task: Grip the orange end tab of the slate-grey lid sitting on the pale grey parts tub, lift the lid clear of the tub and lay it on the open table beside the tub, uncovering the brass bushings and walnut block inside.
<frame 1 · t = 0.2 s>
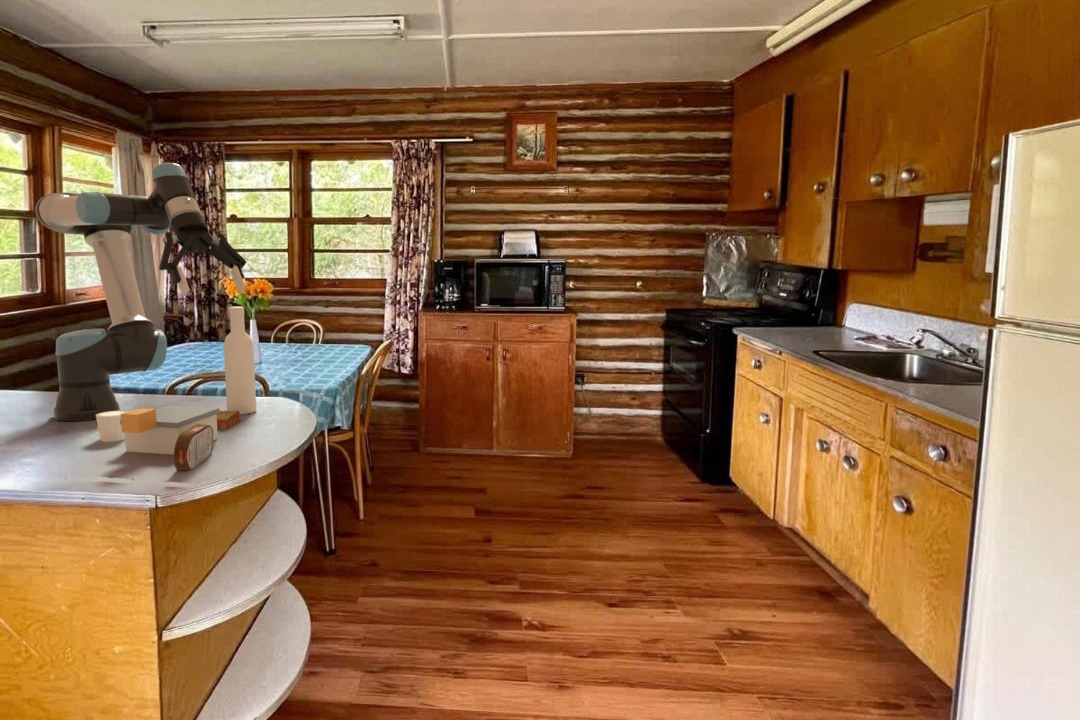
hand: (215, 292, 165), 36 cm above the countertop, tool tilted 35°, fingers open, 13 cm apart
tub: (173, 448, 159), on the countertop
cream cylindrical piece: (114, 442, 164), on the countertop
tin: (196, 466, 147), on the countertop
carton: (203, 430, 178), on the countertop
lid: (171, 418, 158), point 7 cm above the countertop, touching tub
walnut block: (151, 448, 156), point 1 cm above the countertop, touching tub
bottle: (241, 412, 196), on the countertop
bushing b: (176, 449, 156), point 1 cm above the countertop, touching tub
bushing a: (170, 440, 163), point 1 cm above the countertop, touching tub
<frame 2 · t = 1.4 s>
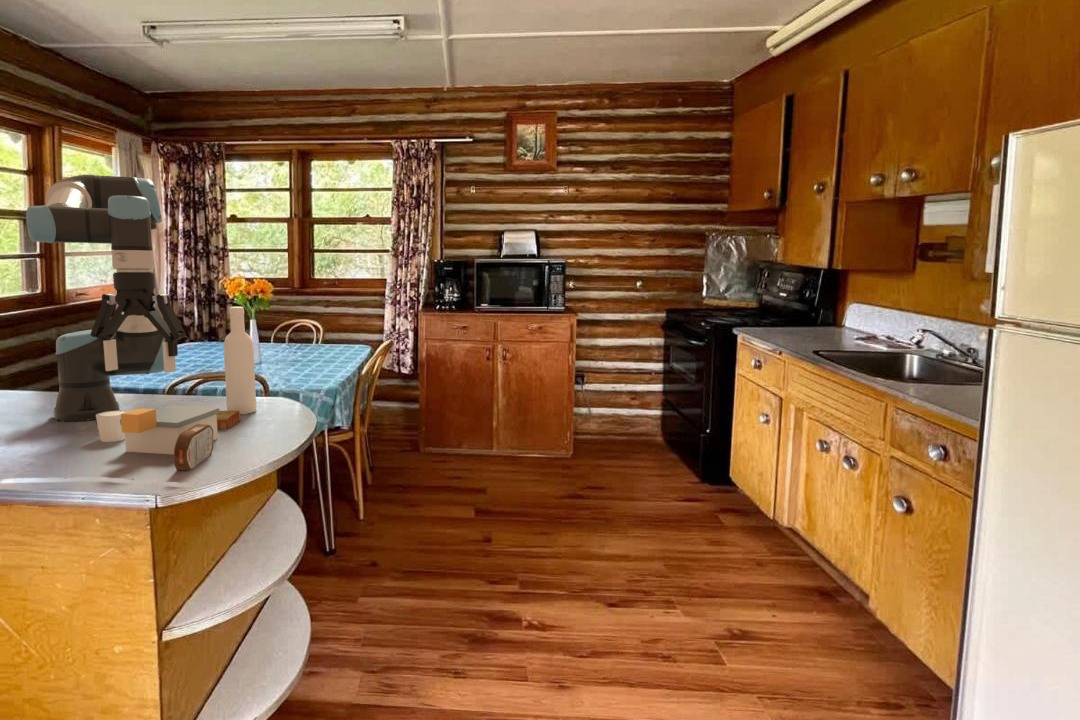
hand: (140, 371, 147), 20 cm above the countertop, tool pointing down, fingers open, 13 cm apart
nothing on the countertop moved.
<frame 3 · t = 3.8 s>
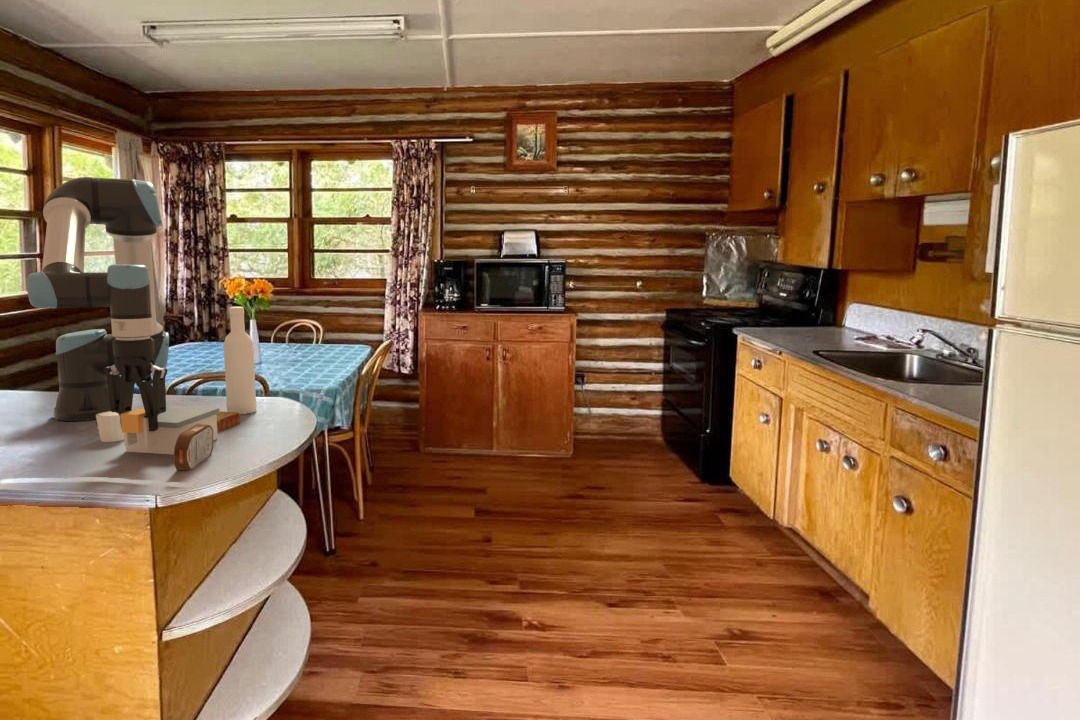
hand: (140, 444, 149), 4 cm above the countertop, tool pointing down, fingers closed on lid, 4 cm apart
lid: (171, 418, 158), point 7 cm above the countertop, touching gripper
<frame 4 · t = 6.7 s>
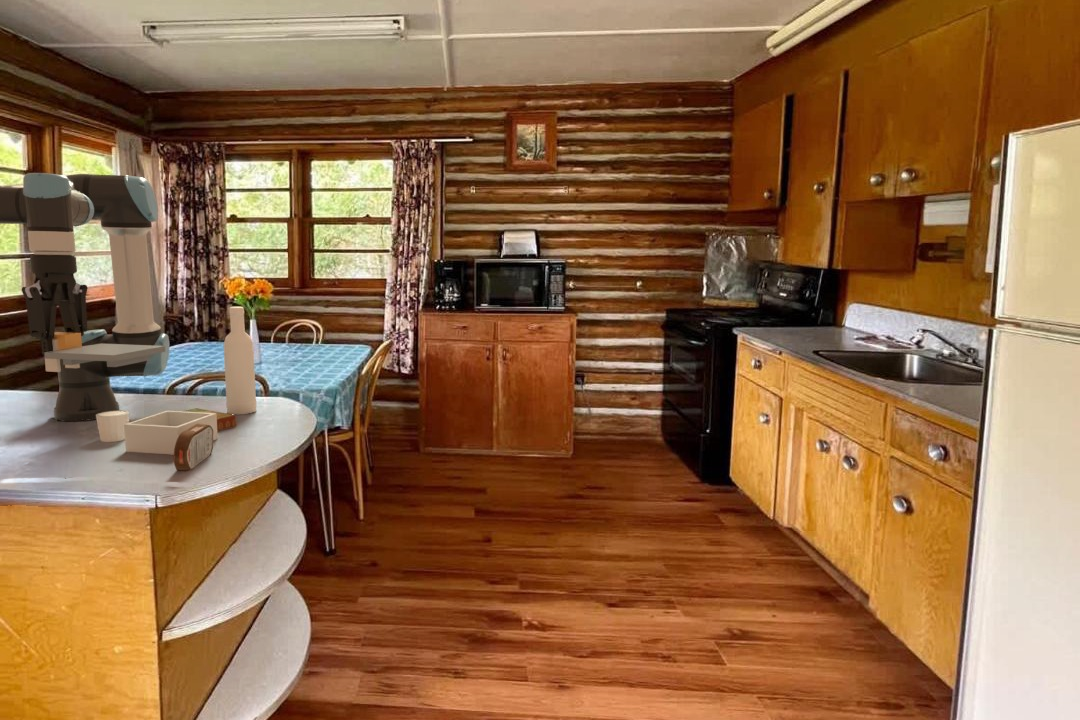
hand: (63, 369, 140), 21 cm above the countertop, tool pointing down, fingers closed on lid, 4 cm apart
lid: (107, 354, 138), point 24 cm above the countertop, touching gripper
when the fingers open (1 cm above the countertop, at t = 9.8 s): lid drops 3 cm, point 1 cm above the countertop.
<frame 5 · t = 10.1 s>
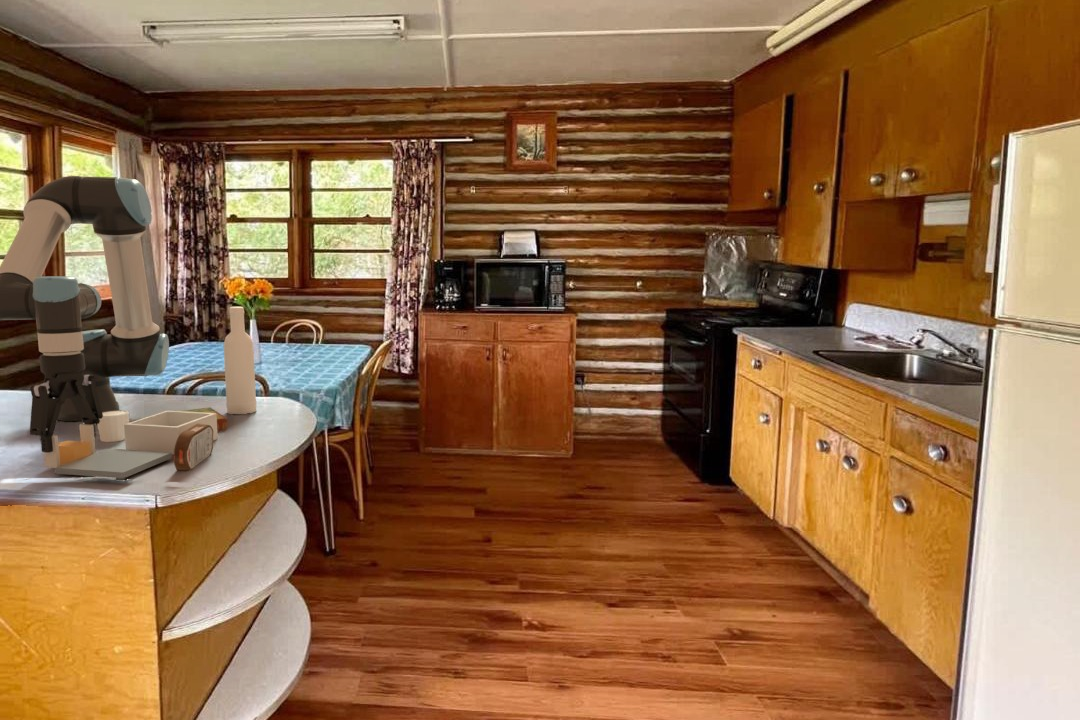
hand: (71, 460, 143), 2 cm above the countertop, tool pointing down, fingers open, 8 cm apart
lid: (116, 465, 141), point 1 cm above the countertop
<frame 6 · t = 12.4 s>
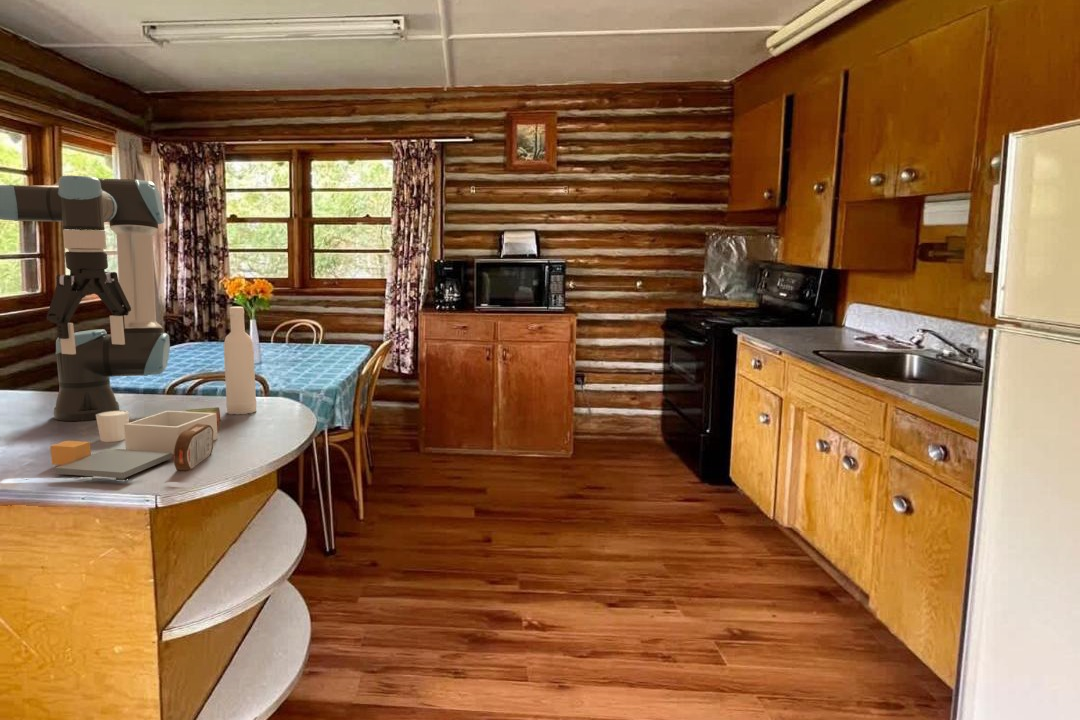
hand: (94, 349, 150), 24 cm above the countertop, tool pointing down, fingers open, 13 cm apart
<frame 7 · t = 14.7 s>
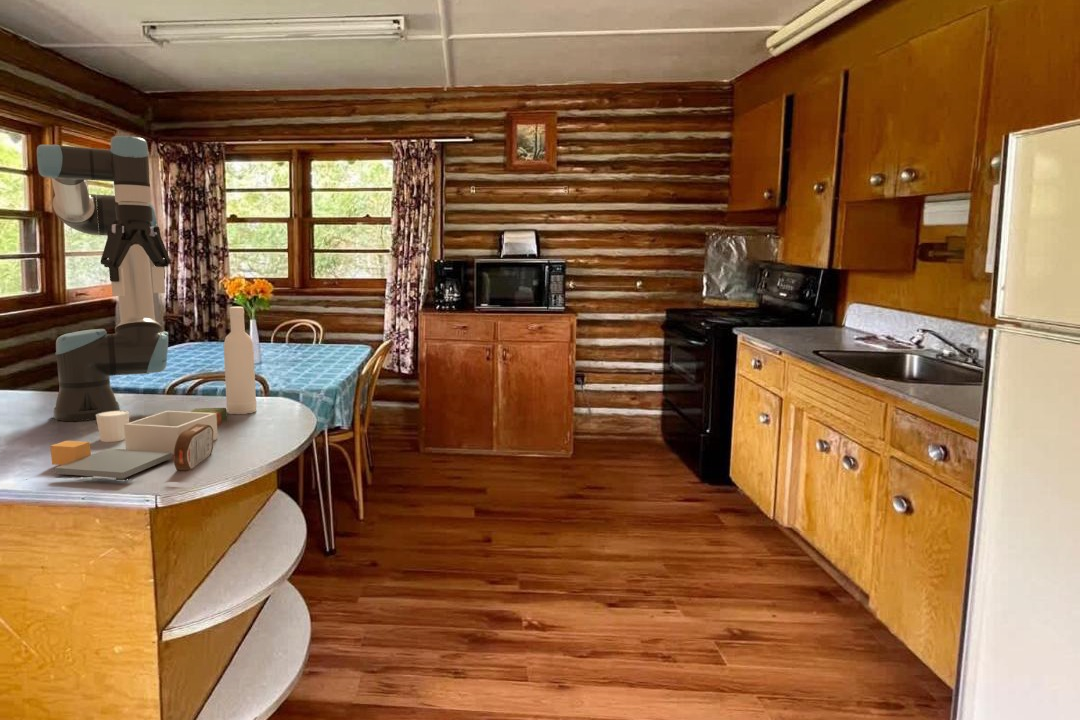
hand: (140, 294, 166), 35 cm above the countertop, tool pointing down, fingers open, 13 cm apart
at the end: lid inside the target area (1.7 cm from its centre), point 1.4 cm above the countertop; lid touching countertop; the gripper is holding nothing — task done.
